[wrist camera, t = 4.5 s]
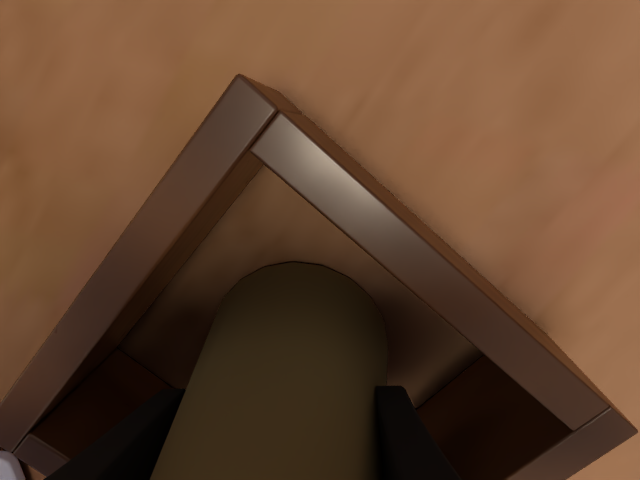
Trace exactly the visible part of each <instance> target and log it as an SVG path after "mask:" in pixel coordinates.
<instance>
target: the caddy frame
mask: <svg viewBox="0 0 640 480" xmlns="http://www.w3.org/2000/svg"><path fill="white" fill-rule="evenodd" d="M263 164H264V165H266V166H267V167H268V168H269V169H270V170H271V171H273V172H274V173H275V174H276V175H277V176H278V177H280V178H281V179H282V180H283V181H284V182H285V183H286V184H288V185H289V186H290V187H291V188H292V189H293V190H295V191H296V192H297V193H298V194H299V195H300V196H301V197H303V198H304V199H305V200H306V201H307V202H308V203H310V204H311V205H312V206H313V207H314V208H315V209H317V210H318V211H319V212H320V213H321V214H322V215H323V216H325V217H326V218H327V219H328V220H329V221H330V222H332V223H333V224H334V225H335V226H336V227H337V228H339V229H340V230H341V231H342V232H343V233H344V234H345V235H347V236H348V237H349V238H350V239H351V240H352V241H354V242H355V243H356V244H357V245H358V246H359V247H360V248H362V249H363V250H364V251H365V252H366V253H367V254H369V255H370V256H371V257H372V258H373V259H374V260H376V261H377V262H378V263H379V264H380V265H381V266H382V267H384V268H385V269H386V270H387V271H388V272H389V273H391V274H392V275H393V276H394V277H395V278H396V279H397V280H399V281H400V282H401V283H402V284H403V285H404V286H406V287H407V288H408V289H409V290H410V291H411V292H413V293H414V294H415V295H416V296H417V297H418V298H419V299H421V300H422V301H423V302H424V303H425V304H426V305H428V306H429V307H430V308H431V309H432V310H433V311H435V312H436V313H437V314H438V315H439V316H440V317H441V318H443V319H444V320H445V321H446V322H447V323H448V324H450V325H451V326H452V327H453V328H454V329H455V330H456V331H458V332H459V333H460V334H461V335H462V336H463V337H465V338H466V339H467V340H468V341H469V342H470V343H472V344H473V345H474V346H475V347H476V348H477V349H478V350H480V351H481V352H482V353H483V354H484V355H483V356H482V357H481V358H480V359H478V360H477V361H476V362H475V363H474V364H472V365H471V366H470V367H469V368H467V369H466V370H465V371H464V372H462V373H461V374H460V375H459V376H458V377H456V378H455V379H454V380H453V381H451V382H450V383H449V384H448V385H447V386H445V387H444V388H443V389H442V390H440V391H439V392H438V393H437V394H435V395H434V396H433V397H432V398H431V399H429V400H428V401H427V402H426V403H424V404H423V405H422V406H421V407H420V408H418V409H417V410H416V411H417V413H418V415H419V417H420V418H421V420H422V422H423V423H424V425H425V427H426V428H427V430H428V431H429V433H430V434H431V436H432V438H433V439H434V441H435V442H436V443H437V445H438V446H439V448H440V449H441V451H442V452H443V454H444V455H445V457H446V458H447V460H448V461H449V463H450V464H451V465H452V467H453V468H454V469H455V471H456V472H457V474H458V475H459V476H460V478H461V479H462V480H566V479H568V478H569V477H571V476H572V475H574V474H575V473H577V472H578V471H580V470H581V469H583V468H585V467H586V466H588V465H589V464H591V463H592V462H594V461H595V460H597V459H598V458H600V457H601V456H603V455H605V454H606V453H608V452H609V451H611V450H612V449H614V448H615V447H617V446H618V445H620V444H621V443H623V442H625V441H626V440H628V439H629V438H631V437H632V436H634V435H635V434H637V433H638V430H637V429H636V428H635V427H634V426H633V425H632V423H631V422H630V421H629V420H628V419H627V418H626V417H625V416H624V415H623V414H622V413H621V412H620V411H619V410H618V409H617V408H616V407H615V406H614V405H613V403H612V402H611V401H610V400H609V399H608V398H607V397H606V396H605V395H604V394H603V393H602V392H601V391H600V390H599V389H598V388H597V387H596V386H595V384H594V383H593V382H592V381H591V380H590V379H589V378H588V377H587V376H586V375H585V374H584V373H583V372H582V371H581V370H580V369H579V368H578V367H577V365H576V364H575V363H574V362H573V361H572V360H571V359H570V358H569V357H568V356H567V355H566V354H565V353H564V352H563V351H562V350H561V349H560V348H559V347H558V345H557V344H556V343H555V342H554V341H553V340H552V339H551V338H550V337H549V336H548V335H547V334H546V333H545V332H543V331H542V330H541V329H540V328H539V327H538V326H537V325H536V324H535V323H534V322H532V321H531V320H530V319H529V318H528V317H527V316H526V315H525V314H524V313H522V312H521V311H520V310H519V309H518V308H517V307H516V306H515V305H514V304H513V303H511V302H510V301H509V300H508V299H507V298H506V297H505V296H504V295H503V294H502V293H500V292H499V291H498V290H497V289H496V288H495V287H494V286H493V285H492V284H490V283H489V282H488V281H487V280H486V279H485V278H484V277H483V276H482V275H481V274H479V273H478V272H477V271H476V270H475V269H474V268H473V267H472V266H471V265H470V264H468V263H467V262H466V261H465V260H464V259H463V258H462V257H461V256H460V255H458V254H457V253H456V252H455V251H454V250H453V249H452V248H451V247H450V246H449V245H447V244H446V243H445V242H444V241H443V240H442V239H441V238H440V237H439V236H438V235H436V234H435V233H434V232H433V231H432V230H431V229H430V228H429V227H428V226H426V225H425V224H424V223H423V222H422V221H421V220H420V219H419V218H418V217H417V216H415V215H414V214H413V213H412V212H411V211H410V210H409V209H408V208H407V207H406V206H404V205H403V204H402V203H401V202H400V201H399V200H398V199H397V198H396V197H394V196H393V195H392V194H391V193H390V192H389V191H388V190H387V189H386V188H385V187H383V186H382V185H381V184H380V183H379V182H378V181H377V180H376V179H375V178H374V177H372V176H371V175H370V174H369V173H368V172H367V171H366V170H365V169H364V168H362V167H361V166H360V165H359V164H358V163H357V162H356V161H355V160H354V159H353V158H351V157H350V156H349V155H348V154H347V153H346V152H345V151H344V150H343V149H342V148H340V147H339V146H338V145H337V144H336V143H335V142H334V141H333V140H332V139H330V138H329V137H328V136H327V135H326V134H325V133H324V132H323V131H322V130H321V129H319V128H318V127H317V126H316V125H315V124H314V123H313V122H312V121H311V120H310V119H308V118H307V117H306V116H304V115H302V113H301V111H300V110H298V109H297V108H296V107H295V106H294V105H293V104H292V103H291V102H290V101H288V100H287V99H286V98H285V97H284V96H283V95H282V94H281V93H280V92H278V91H276V90H274V89H272V88H269V87H267V86H265V85H263V84H261V83H259V82H257V81H255V80H253V79H250V78H248V77H246V76H244V75H242V74H238V75H236V76H235V77H234V79H233V80H232V82H231V83H230V84H229V86H228V87H227V89H226V90H225V91H224V93H223V94H222V96H221V97H220V98H219V100H218V101H217V103H216V104H215V105H214V107H213V108H212V109H211V111H210V112H209V114H208V115H207V116H206V118H205V119H204V121H203V122H202V123H201V125H200V126H199V128H198V129H197V130H196V132H195V133H194V135H193V136H192V137H191V139H190V140H189V141H188V143H187V144H186V146H185V147H184V148H183V150H182V151H181V153H180V154H179V155H178V157H177V158H176V160H175V161H174V162H173V164H172V165H171V167H170V168H169V169H168V171H167V172H166V174H165V175H164V176H163V178H162V179H161V180H160V182H159V183H158V185H157V186H156V187H155V189H154V190H153V192H152V193H151V194H150V196H149V197H148V199H147V200H146V201H145V203H144V204H143V206H142V207H141V208H140V210H139V211H138V212H137V214H136V215H135V217H134V218H133V219H132V221H131V222H130V224H129V225H128V226H127V228H126V229H125V231H124V232H123V233H122V235H121V236H120V238H119V239H118V240H117V242H116V243H115V244H114V246H113V247H112V249H111V250H110V251H109V253H108V254H107V256H106V257H105V258H104V260H103V261H102V263H101V264H100V265H99V267H98V268H97V270H96V271H95V272H94V274H93V275H92V276H91V278H90V279H89V281H88V282H87V283H86V285H85V286H84V288H83V289H82V290H81V292H80V293H79V295H78V296H77V297H76V299H75V300H74V302H73V303H72V304H71V306H70V307H69V308H68V310H67V311H66V313H65V314H64V315H63V317H62V318H61V320H60V321H59V322H58V324H57V325H56V327H55V328H54V329H53V331H52V332H51V334H50V335H49V336H48V338H47V339H46V341H45V342H44V343H43V345H42V346H41V347H40V349H39V350H38V352H37V353H36V354H35V356H34V357H33V359H32V360H31V361H30V363H29V364H28V366H27V367H26V368H25V370H24V371H23V373H22V374H21V375H20V377H19V378H18V379H17V381H16V382H15V384H14V385H13V386H12V388H11V389H10V391H9V392H8V393H7V395H6V396H5V398H4V399H3V400H2V402H1V403H0V447H2V448H3V449H5V450H6V451H8V452H13V451H14V453H13V454H14V456H15V457H17V458H19V459H20V460H22V461H23V462H25V463H26V464H28V465H29V466H31V467H33V468H34V469H36V470H37V471H39V472H40V473H42V474H43V475H45V476H46V477H48V476H49V475H51V474H52V473H53V472H55V471H56V470H57V469H59V468H60V467H61V466H63V465H64V464H66V463H67V462H68V461H70V460H71V459H72V458H74V457H75V456H76V455H78V454H79V453H81V452H82V451H83V450H85V449H86V448H87V447H88V446H90V445H91V444H92V443H94V442H95V441H96V440H97V439H99V438H100V437H101V436H103V435H104V434H105V433H106V432H108V431H109V430H110V429H112V428H113V427H114V426H115V425H117V424H118V423H119V422H120V421H122V420H123V419H124V418H125V417H127V416H128V415H129V414H131V413H132V412H133V411H134V410H136V409H137V408H138V407H139V406H141V405H142V404H143V403H145V402H146V401H147V400H148V399H150V398H151V397H152V396H154V395H155V394H157V393H158V392H159V391H161V390H162V389H173V388H172V387H170V386H169V385H167V384H166V383H165V382H163V381H162V380H160V379H159V378H158V377H156V376H155V375H154V374H152V373H151V372H149V371H148V370H147V369H145V368H144V367H143V366H141V365H140V364H138V363H137V362H136V361H134V360H133V359H131V358H130V357H129V356H127V355H126V354H125V353H123V352H122V351H120V350H119V349H116V347H117V346H118V345H119V344H120V342H121V341H122V340H123V339H124V337H125V336H126V335H127V334H128V332H129V331H130V330H131V329H132V327H133V326H134V325H135V324H136V322H137V321H138V320H139V319H140V317H141V316H142V315H143V314H144V312H145V311H146V310H147V309H148V308H149V306H150V305H151V304H152V303H153V301H154V300H155V299H156V298H157V296H158V295H159V294H160V293H161V291H162V290H163V289H164V288H165V286H166V285H167V284H168V283H169V281H170V280H171V279H172V278H173V276H174V275H175V274H176V273H177V271H178V270H179V269H180V268H181V266H182V265H183V264H184V263H185V261H186V260H187V259H188V258H189V257H190V255H191V254H192V253H193V252H194V250H195V249H196V248H197V247H198V245H199V244H200V243H201V242H202V240H203V239H204V238H205V237H206V235H207V234H208V233H209V232H210V230H211V229H212V228H213V227H214V225H215V224H216V223H217V222H218V220H219V219H220V218H221V217H222V215H223V214H224V213H225V212H226V210H227V209H228V208H229V207H230V205H231V204H232V203H233V202H234V201H235V199H236V198H237V197H238V196H239V194H240V193H241V192H242V191H243V189H244V188H245V187H246V186H247V184H248V183H249V182H250V181H251V179H252V178H253V177H254V176H255V174H256V173H257V172H258V171H259V169H260V168H261V167H262V166H263Z"/></svg>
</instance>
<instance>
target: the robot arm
mask: <svg viewBox="0 0 640 480" xmlns="http://www.w3.org/2000/svg"><path fill="white" fill-rule="evenodd" d="M185 391H186V390H185V389H162V390H161V391H159V392H158V393H157V394H155V395H154V396H152V397H151V398H150V399H148V400H147V401H146V402H145V403H143V404H142V405H141V406H139V407H138V408H137V409H136V410H134V411H133V412H132V413H131V414H129V415H128V416H127V417H125V418H124V419H123V420H122V421H120V422H119V423H118V424H117V425H115V426H114V427H113V428H112V429H110V430H109V431H108V432H106V433H105V434H104V435H103V436H101V437H100V438H99V439H97V440H96V441H95V442H94V443H92V444H91V445H90V446H88V447H87V448H86V449H85V450H83V451H82V452H81V453H79V454H78V455H76V456H75V457H74V458H72V459H71V460H70V461H68V462H67V463H66V464H64V465H63V466H61V467H60V468H59V469H57V470H56V471H55V472H53V473H52V474H51V475H49V476H48V477H46V478H45V479H44V480H150V477H151V475H152V473H153V470H154V468H155V465H156V463H157V460H158V458H159V455H160V453H161V450H162V448H163V445H164V443H165V440H166V438H167V435H168V433H169V430H170V428H171V425H172V423H173V420H174V418H175V415H176V413H177V410H178V408H179V405H180V403H181V401H182V398H183V396H184V393H185ZM376 394H377V405H378V416H379V431H380V444H381V454H382V464H383V470H382V480H462V479H461V478H460V476H459V475H458V474H457V472H456V471H455V469H454V468H453V467H452V465H451V464H450V463H449V461H448V460H447V458H446V457H445V455H444V454H443V452H442V451H441V449H440V448H439V446H438V445H437V443H436V442H435V441H434V439H433V438H432V436H431V434H430V433H429V431H428V430H427V428H426V427H425V425H424V423H423V422H422V420H421V418H420V417H419V415H418V413H417V411H416V410H415V408H414V406H413V404H412V402H411V400H410V398H409V396H408V394H407V392H406V390H405V389H404V388H403V387H402V386H376ZM0 480H26V479H25V476H24V474H23V471H22V468H21V466H20V463H19V461H18V459H17V457H15V456H14V454H13V453H10V452H8V451H0Z"/></svg>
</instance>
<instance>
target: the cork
mask: <svg viewBox="0 0 640 480" xmlns="http://www.w3.org/2000/svg"><path fill="white" fill-rule="evenodd" d="M387 361H388V341H387V335H386V329H385V324H384V320H383V318H382V316H381V314H380V313H379V311H378V309H377V307H376V306H375V304H374V302H373V300H372V299H371V297H370V296H369V295H368V294H367V293H366V292H364V291H363V290H362V289H361V288H360V287H359V286H358V285H357V284H355V283H354V282H353V281H352V280H351V279H350V278H348V277H346V276H344V275H341V274H339V273H337V272H335V271H333V270H330V269H328V268H326V267H324V266H319V265H311V264H304V263H296V262H291V263H285V264H279V265H273V266H267V267H264V268H262V269H260V270H258V271H256V272H254V273H252V274H250V275H248V276H246V277H244V278H243V279H241V280H240V281H239V282H238V283H237V284H236V285H235V286H234V287H233V288H232V289H231V290H230V291H229V292H228V293H227V295H226V296H225V297H224V298H223V299H222V302H221V304H220V307H219V309H218V311H217V314H216V316H215V319H214V321H213V324H212V326H211V328H210V331H209V333H208V336H207V338H206V341H205V343H204V346H203V348H202V351H201V353H200V356H199V358H198V361H197V363H196V366H195V368H194V371H193V373H192V376H191V378H190V381H189V383H188V386H187V388H186V391H185V393H184V396H183V398H182V401H181V403H180V405H179V408H178V410H177V413H176V415H175V418H174V420H173V423H172V425H171V428H170V430H169V433H168V435H167V438H166V440H165V443H164V445H163V448H162V450H161V453H160V455H159V458H158V460H157V463H156V465H155V468H154V470H153V473H152V475H151V477H150V480H382V470H383V464H382V454H381V444H380V431H379V416H378V405H377V394H376V386H386V383H387Z"/></svg>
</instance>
